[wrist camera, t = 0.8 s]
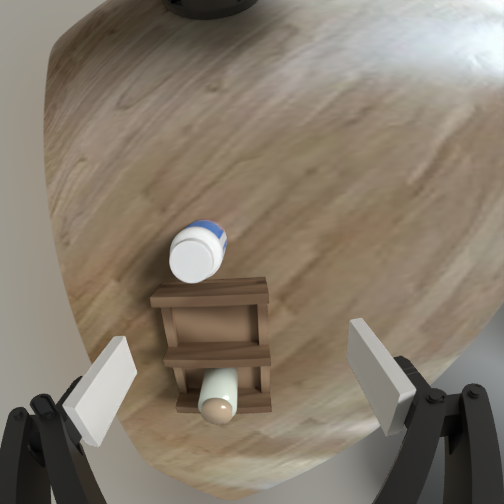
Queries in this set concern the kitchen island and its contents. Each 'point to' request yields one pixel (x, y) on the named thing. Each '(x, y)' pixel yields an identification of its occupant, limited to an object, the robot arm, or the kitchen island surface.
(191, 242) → the pill bottle
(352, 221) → the kitchen island surface
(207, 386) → the jar
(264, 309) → the rack
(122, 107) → the kitchen island surface
